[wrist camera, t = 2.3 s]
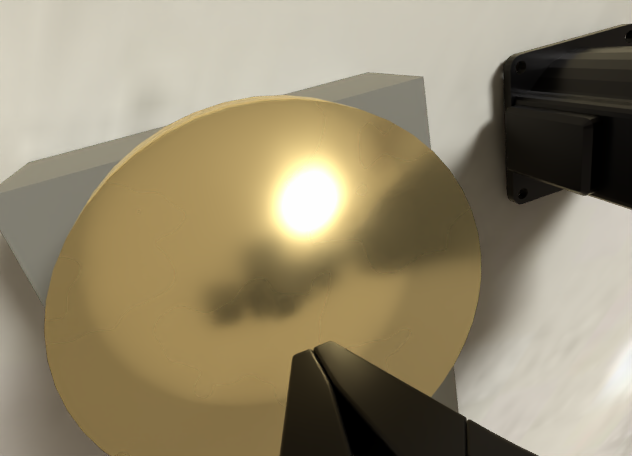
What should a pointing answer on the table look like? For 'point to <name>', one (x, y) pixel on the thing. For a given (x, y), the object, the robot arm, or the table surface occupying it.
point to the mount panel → (98, 160)
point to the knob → (255, 273)
